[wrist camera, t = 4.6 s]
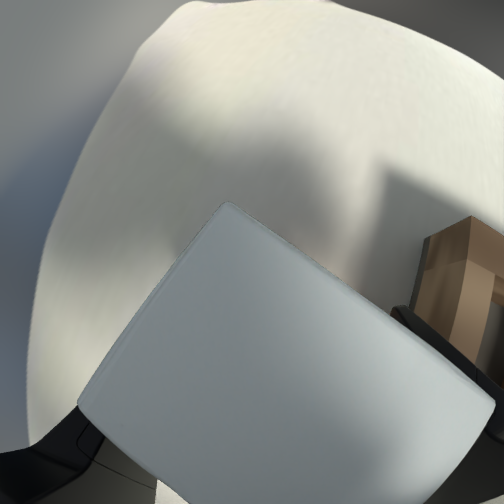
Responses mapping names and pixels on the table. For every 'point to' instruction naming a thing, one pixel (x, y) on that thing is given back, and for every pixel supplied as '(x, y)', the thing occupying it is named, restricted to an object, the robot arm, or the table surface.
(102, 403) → the skincare box
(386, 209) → the table surface
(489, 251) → the socket block
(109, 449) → the robot arm
